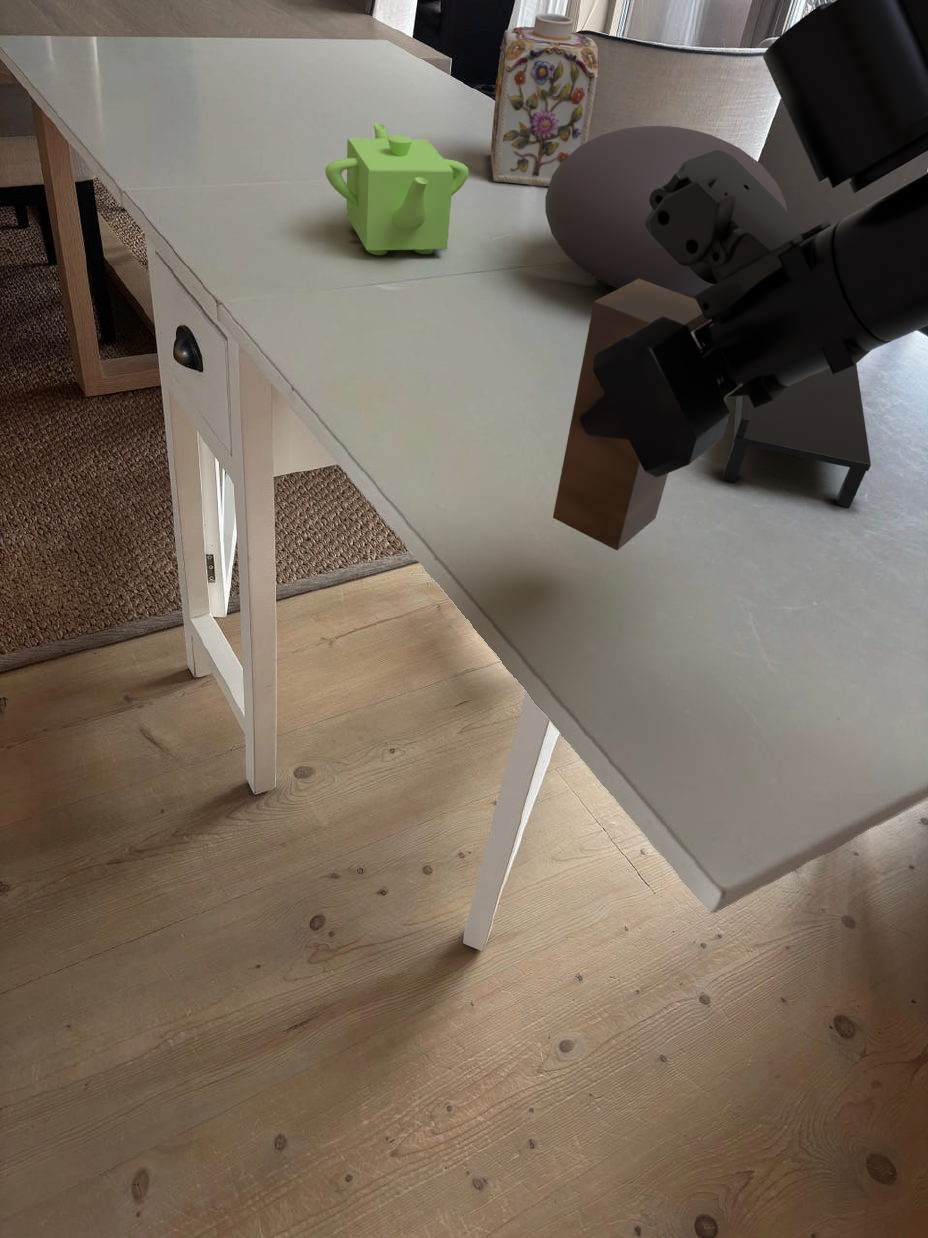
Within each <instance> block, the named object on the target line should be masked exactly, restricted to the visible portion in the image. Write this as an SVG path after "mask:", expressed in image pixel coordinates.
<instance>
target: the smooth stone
mask: <svg viewBox="0 0 928 1238" xmlns="http://www.w3.org/2000/svg"><path fill="white" fill-rule="evenodd" d="M715 150H720V151H723V152H726V153H728V154H729V155H731V156H732V157H734V158H735V159H736V160H737V161H738V162H739V163H740V164H741V165H742V166H743V167H744V168H745V169H746V170H747V171H748V172H749V173H750V174H751V175H752V176H753V177H755V178H756V179H757V180H758V181H759V182H760V183H761V184H762V185H763V186H764V187H765V188H766V189H767V190H768V191H769V192H770V193H771V194H772V195H773V196H774V197H775V198H776V199H777V200H778V201H779V202H780V203H781V205H782V206H783V207H784V208H785V210H786V212H787V213H788V209H787V204H786V200H785V197H784V195H783V193H782V191H781V189H780V187H779V185H778V184H779V183H777V181H776V180H775V178H773V176H772V175H771V174H770V173H769V172H768V171H767V169H765V167H764V166H763V164H761V163H760V162H759V161H757V160H756V159H755V158H754V157H752V156H751V155H750V154H748V153H747V152H746V151H744V150H743V149H741V148H740V147H738V146H736V145H735V144H732V143H730V142H728V141H726V140H724V139H722V138H719V137H717V136H714V135H713V134H709V133H706V132H703V131H699V130H695V129H692V128H691V129H690V128H685V127H680V126H672V125H671V126H669V125H646V126H633V127H626V128H621V129H618V130H613V131H611V132H607V133H603V134H602V135H599V136H596V137H594V138H592V139H591V140H589V141H587V143H585V144H583V145H581V146H579V147H578V148H577V149H576V150H575V151H574V152H573V153H571V154H570V155H569V156H568V157H567V158H566V159H565V160H563V161H562V162H561V163H560V165H559V166H558V168H557V169H556V171H555V172H554V174H553V175H552V178H551V181H550V184H549V187H548V186H547V190H546V193H545V198H544V199H545V200H544V202H545V203H544V205H545V206H544V207H545V209H544V210H545V217H546V219H547V223H548V226H549V230H550V233H551V235H552V236H553V238H554V239H555V241H556V242H557V244H558V246H559V247H560V248H561V250H562V251H563V253H564V254H565V255H566V256H567V257H568V258H569V259H570V260H571V261H572V262H573V263H574V264H575V265H576V266H578V267H579V268H580V269H581V270H583V272H585V273H586V274H588V275H590V276H591V277H593V278H594V279H597V280H598V281H600V282H602V283H604V284H607V285H608V286H611V287H613V288H615V289H616V290H618V289H620V288H622V287H624V286H625V285H627V284H629V283H631V282H633V281H635V280H637V279H641V280H644V281H647V282H650V283H652V284H655V285H658V286H660V287H663V288H666V289H669V290H671V291H674V292H677V293H679V294H682V295H685V296H688V297H690V298H693V299H695V295H696V294H698V293H700V292H702V291H703V290H705V289H707V288H709V287H710V286H712V285H714V284H711V283H708V282H706V281H704V280H703V279H701V278H700V277H698V276H697V275H696V274H695V273H694V272H693V271H692V270H691V269H690V268H689V267H688V266H682V265H680V264H679V263H678V262H677V261H676V260H675V259H674V258H673V257H672V256H671V255H670V254H669V253H668V252H667V251H666V250H665V249H664V248H663V247H662V246H661V245H660V244H659V243H658V242H657V241H656V240H655V239H654V238H653V237H652V236H651V234H650V233H649V231H648V230H647V228H646V226H645V222H644V221H645V217H646V216H647V214H648V213H649V212H650V210H651V209H652V207H651V205H650V195H651V193H652V192H653V191H654V190H655V189H658V188H660V187H663V186H664V185H666V184H667V183H668V182H669V181H670V180H671V178H672V177H673V176H674V174H676V173H677V171H678V170H679V169H680V167H681V166H682V164H683V163H684V162H685V161H687V160H690V159H693V158H695V157H698V156H701V155H704V154H706V153H709V152H712V151H715Z"/></svg>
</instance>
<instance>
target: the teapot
mask: <svg viewBox="0 0 928 1238" xmlns="http://www.w3.org/2000/svg"><path fill="white" fill-rule="evenodd" d="M373 129H374V137H375V138H367V137H366V138H365V137H364V138H363V137H362V138H360V137H358V138H356V137H355V138H354V137H348V138H347V143H346V147H347V148H346V158H341V159H336V160H334V161H331V162H329V163H328V164H327V165H326V167H325V171H324V172H325V177H326V180H327V181H328V182H329V184H330V185H331V187H332V188H333V189H334V190H335V191H336V192H337V193H338V194H339V195H340V196H342V197H343V198H344V199H346V216H347V218H348V220H349V222H350V224H351V225H352V227H353V230H354V231H355V233H356V235H357V236H358V238H359V239H360V241H361V244H362V245H363V247H364V249H365V250H366V251H367V252H368V253H369V254H372V255H374V256H383V255H386V254H387V253H388V251H406V250H409V251H410V250H411V251H412V250H413V251H414V252H415V253H417V254H421V255H430V254H433V252H434V250H447V249H448V241H449V229H450V220H451V219H450V217H451V208H452V207H451V206H452V196H454V195H455V194H456V193H457V192H458V191H459V190H461V188H462V187H463V186H464V185H465V183H466V181H467V179H468V178H469V168H468V167H467V166H466V165H465V164H464V163H463V162H460V161H456V160H453V159H447V158H444V157H443V156H442V155H441V154H440V153H439V152H438V151H437V149H436V148H435V147H434V146H433V145H432V144H431V143H430V142H429V140H428V139H426V138H425V139H422V138H421V139H420V138H419V139H416V138H411V137H409V136H407V135H404V134H403V135H402V134H392V135H389V136H388V131H387V127H386V126H385V125H384V124H382V123H381V122H375V123H374V124H373ZM345 170H346V181H345V180H344V178H343V175H342V173H343V172H344V171H345Z"/></svg>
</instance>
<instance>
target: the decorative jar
mask: <svg viewBox="0 0 928 1238" xmlns="http://www.w3.org/2000/svg"><path fill="white" fill-rule="evenodd" d="M534 18H535V19H534V25H533V26H519V27H518V26H517V27H514V28H510V29H505V31H504V33H503V35H502V39H501V43H500V47H499V49H500V55H499V64H498V70H497V75H496V81H495V99H494V109H493V116H492V118H493V119H492V129H491V141H490V142H491V143H490V161H491V171H492V180H493V182H497V183H498V182H499V183H510V184H520V185H530V186H540V187H547V188H548V187H549V184H550V181H551V178H552V175H553V174H554V172H555V171H556V169H557V168H558V166H559V165H560V163H561V162H562V161H563V160H565V159H566V158H567V157H568V156H569V155H570V154H571V153H573V152H574V151H575V150H576V149H577V148H578V147H579V146H581V145H583V144H585V143H587V142H588V140H589V133H590V126H591V119H592V113H593V107H594V102H595V100H594V99H595V96H596V95H595V94H596V88H597V81H598V77H599V60H598V56H599V50H598V45H597V42H596V41H595V40H594V39H592V38H590V37H588V36H585V35H584V34H582V33H577V32H575V31H573V26H574V20H573V19H572V17H569V16H566V15H563V14H558V13H539V14H536V16H535V17H534Z"/></svg>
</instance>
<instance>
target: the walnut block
mask: <svg viewBox="0 0 928 1238" xmlns="http://www.w3.org/2000/svg"><path fill="white" fill-rule="evenodd" d="M661 316H664V317H667V318H669V319H672V320H675V321H677V322H680V323H682V324H685V325H687V326H688V328H689V330H690V332H692V331H693V330H695V329H697V328H698V327H700V326H702V325H703V324H705V323H706V322H708V321H710V320H711V319H709V320H708V319H706V318H705V317H704V315H703V313H702V311H701V309H700V307H699V305H698V303H697V301H696V299H695V298H694V299H693V298H690V297H688V296H685V295H682V294H679V293H677V292H674V291H671V290H669V289H666V288H663V287H660V286H658V285H655V284H652V283H650V282H647V281H644V280H641V279H637V280H635V281H633V282H631V283H629V284H627V285H625V286H624V287H622V288H620V289H616V290H614V291H612V292H610V293H608V294H606V295H604V296H602V297H600V298H598V299H596V300H594V301H593V305H592V311H591V315H590V321H589V326H588V331H587V336H586V342H585V347H584V350H583V351H584V352H583V356H582V362H581V368H580V372H579V377H578V384H577V389H576V393H575V399H574V404H573V410H572V415H571V420H570V424H569V431H568V436H567V439H566V440H567V441H566V446H565V452H564V456H563V460H562V461H563V462H562V467H561V473H560V477H559V481H558V482H559V483H558V488H557V492H556V498H555V504H554V510H553V513H552V514H553V515H552V519H554V520H556V521H558V522H560V523H562V524H564V525H566V526H567V527H570V528H572V529H574V530H576V531H577V532H579V533H582V534H583V535H586V536H587V537H589V538H591V539H593V540H595V541H597V542H599V543H601V544H602V545H605V546H607V547H609V548H610V549H612V550H615V551H617V552H618V551H619V550H620V549H621V548H622V547H624V546H625V545H626V544H627V543H628V542H630V541H632V539H633V538H635V537H636V536H637V535H638V534H639V533H640V532H641V531H642V530H644V529H645V528H646V527H647V526H648V525H650V524H651V523H652V522H653V521H654V520H655V519H656V518H657V515H658V511H659V507H660V504H661V500H662V496H663V494H664V490H665V486H666V483H667V480H668V476H669V473H667V474H665V475H662V476H660V477H657V478H656V477H654V476H652V475H650V474H648V473H647V472H645V471H644V469H643V467H642V465H641V463H640V461H639V459H638V457H637V455H636V453H635V451H634V449H633V447H632V446H631V444H630V442H629V440H626V439H618V438H609V437H600V436H591V435H587V434H586V433H585V431H584V429H583V427H582V425H581V424H580V422H579V417H580V416H581V415H582V414H583V413H584V412H585V411H586V410H587V409H588V408H589V407H590V406H592V405H593V404H594V403H595V402H596V401H597V400H598V399H599V398H600V397H601V396H603V395H604V394H605V393H604V391H603V389H602V387H601V385H600V383H599V381H598V379H597V377H596V375H595V373H594V372H593V358H594V354H596V353H598V352H600V351H601V350H603V349H605V348H607V347H608V346H610V345H612V344H614V343H615V342H617V341H619V340H621V339H622V338H624V337H626V336H628V335H629V334H631V333H633V332H635V331H636V330H638V329H640V328H642V327H643V326H645V325H647V324H649V323H650V322H652V321H654V320H656V319H658V318H659V317H661ZM702 351H703V350H702ZM702 351H700V352H701V354H702Z"/></svg>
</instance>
